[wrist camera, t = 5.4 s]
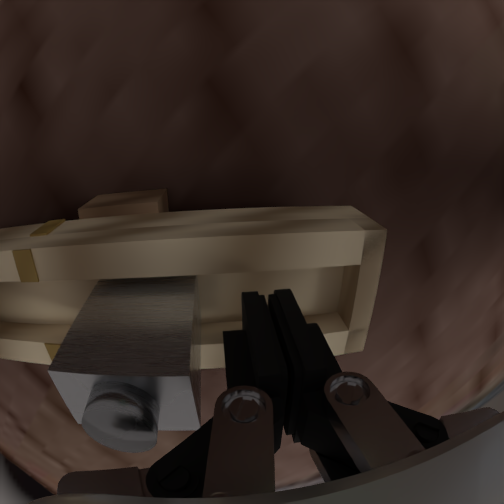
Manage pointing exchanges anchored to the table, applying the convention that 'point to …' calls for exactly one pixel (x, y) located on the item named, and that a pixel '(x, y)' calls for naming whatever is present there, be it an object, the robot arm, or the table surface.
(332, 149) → the table surface
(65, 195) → the table surface
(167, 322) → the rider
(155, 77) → the table surface
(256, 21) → the table surface
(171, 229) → the beam
